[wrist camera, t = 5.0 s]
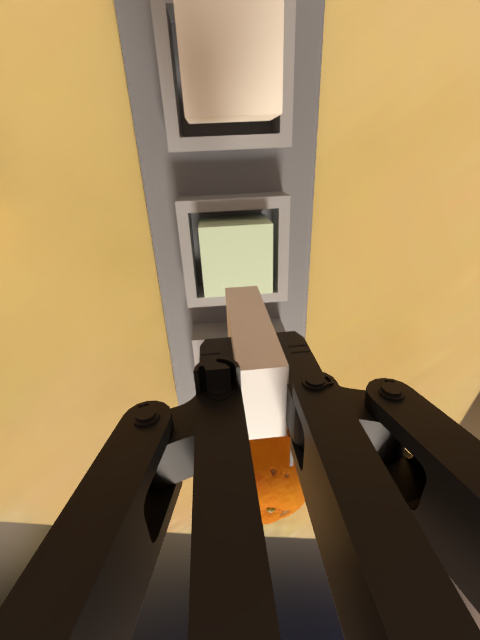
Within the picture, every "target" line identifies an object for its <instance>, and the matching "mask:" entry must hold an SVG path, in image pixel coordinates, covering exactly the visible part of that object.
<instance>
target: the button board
mask: <svg viewBox="0 0 480 640" xmlns="http://www.w3.org/2000/svg"><path fill="white" fill-rule="evenodd" d="M114 5H115V11H116V17H117V23H118V30H119V36H120V42H121V48H122V55H123V61H124V67H125V73H126V80H127V86H128V92H129V98H130V105H131V111H132V117H133V123H134V130H135V136H136V142H137V148H138V155H139V161H140V167H141V173H142V180H143V186H144V192H145V198H146V205H147V211H148V217H149V223H150V230H151V236H152V242H153V248H154V255H155V261H156V267H157V273H158V280H159V286H160V292H161V298H162V305H163V311H164V317H165V323H166V330H167V336H168V342H169V348H170V355H171V361H172V367H173V373H174V380H175V386H176V392H177V398H178V405H179V406H180V405H182V404H185V403H186V402H188V401H190V400H191V399H192V398H193V397H194V396H195V395H196V390H195V382H194V374H193V370H194V368H195V366H196V365H197V364H198V363H199V357H200V346H201V344H202V343H203V342H204V340H205V339H213V338H225V337H228V327H227V311H226V296H224V297H209V298H205V296H204V286H203V275H202V265H201V254H200V244H199V233H198V225H199V219H200V217H216V216H235V215H253V214H265V215H266V216H267V217H268V218H269V219H270V221H271V222H272V223H273V293H269V294H261V297H262V299H263V302H264V304H265V307H266V309H267V312H268V314H269V317H270V319H271V322H272V324H273V327H274V329H275V332H288V331H296V332H297V333H299V334H300V335H301V336H303V337H304V339H305V334H306V317H307V300H308V283H309V266H310V249H311V232H312V214H313V197H314V180H315V163H316V146H317V129H318V112H319V95H320V78H321V61H322V43H323V26H324V9H325V0H284V44H283V105H282V114H281V115H279V116H277V117H276V118H274V119H272V120H270V121H249V122H223V123H198V124H189V123H188V121H187V120H186V119H185V115H184V105H183V95H182V85H181V75H180V65H179V54H178V44H177V34H176V24H175V14H174V4H173V0H114Z"/></svg>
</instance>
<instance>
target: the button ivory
mask: <svg viewBox="0 0 480 640" xmlns="http://www.w3.org/2000/svg"><path fill="white" fill-rule="evenodd" d="M173 4H174V14H175V24H176V34H177V44H178V54H179V65H180V75H181V85H182V95H183V105H184V115H185V119H186V120H187V121H188V123H189V124H198V123H223V122H249V121H270V120H272V119H274V118H276V117H277V116H279V115H281V114H282V105H283V44H284V0H173Z"/></svg>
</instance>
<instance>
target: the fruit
mask: <svg viewBox="0 0 480 640" xmlns="http://www.w3.org/2000/svg"><path fill="white" fill-rule="evenodd" d="M249 442H250V448H251V454H252V461H253V467H254V473H255V480H256V486H257V492H258V499H259V505H260V511H261V518H262V524H269V523H273V522H275V521H277V520H279V519H281V518H285V517H287V516H289V515H290V514H292V513H294V512H295V511H296V510H298V509H299V508H300V507H301V506H302V505H303V504H304V502H305V498H304V495H303V491H302V488H301V484H300V481H299V477H298V474H297V470H296V467H295V463H294V460H293V466H290V437H289V436H281V437H271V438H262V439H252V440H249Z"/></svg>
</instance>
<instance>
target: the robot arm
mask: <svg viewBox="0 0 480 640" xmlns="http://www.w3.org/2000/svg"><path fill="white" fill-rule="evenodd" d="M225 296H226V311H227V327H228V337H225V338H213V339H205V340H204V342H203V343H202V344H201V346H200V357H199V363H198V364H197V365H196V366H195V368H194V370H193V374H194V382H195V390H196V395H195V396H194V397H193V398H192V399H191V400H190V401H188V402H186V403H185V404H182V405H180V406H177V407H174V408H171V409H170V408H169V406H168V405H166V404H165V403H164V402H159V401H146V402H142V403H139V404H137V405H135V406H133V407H132V408H130V409H129V410H128V411H127V412H126V413H125V414H124V415H123V417H122V418H121V420H120V421H119V423H118V424H117V426H116V428H115V429H114V431H113V432H112V434H111V435H110V437H109V438H108V440H107V442H106V443H105V445H104V446H103V448H102V449H101V451H100V453H99V454H98V456H97V457H96V459H95V460H94V462H93V463H92V465H91V467H90V468H89V470H88V471H87V473H86V474H85V476H84V477H83V479H82V481H81V482H80V484H79V485H78V487H77V488H76V490H75V491H74V493H73V495H72V496H71V498H70V499H69V501H68V502H67V504H66V505H65V507H64V509H63V510H62V512H61V513H60V515H59V516H58V518H57V519H56V521H55V523H54V524H53V526H52V527H51V529H50V530H49V532H48V534H47V535H46V537H45V538H44V540H43V541H42V543H41V544H40V546H39V548H38V550H37V551H36V552H35V554H34V555H33V557H32V558H31V560H30V562H29V563H28V565H27V566H26V568H25V569H24V571H23V572H22V574H21V576H20V577H19V579H18V580H17V582H16V583H15V585H14V587H13V588H12V590H11V591H10V593H9V595H8V596H7V597H6V599H5V600H4V602H3V604H2V605H1V607H0V640H131V636H132V634H133V630H134V628H135V625H136V622H137V618H138V616H139V612H140V610H141V606H142V603H143V600H144V598H145V595H146V591H147V589H148V586H149V583H150V580H151V577H152V574H153V571H154V567H155V564H156V561H157V558H158V556H159V553H160V550H161V546H162V543H163V541H164V537H165V535H166V532H167V529H168V525H169V522H170V519H171V516H172V513H173V510H174V507H175V504H176V501H177V498H178V495H179V492H180V489H181V486H182V481H183V480H185V479H188V478H190V477H192V476H193V502H192V532H191V562H190V563H191V564H190V593H189V594H190V595H189V623H188V640H281V638H280V632H279V625H278V619H277V613H276V606H275V600H274V594H273V587H272V581H271V575H270V568H269V562H268V556H267V549H266V543H265V537H264V530H263V524H262V518H261V511H260V505H259V499H258V492H257V486H256V480H255V473H254V467H253V461H252V454H251V448H250V442H249V440H252V439H262V438H271V437H281V436H287V425H288V429H289V432H290V435H291V436H290V466H293V460H294V463H295V467H296V470H297V474H298V477H299V481H300V484H301V488H302V491H303V495H304V498H305V502H306V505H307V509H308V512H309V516H310V519H311V523H312V526H313V530H314V533H315V537H316V540H317V543H318V547H319V551H320V554H321V557H322V561H323V565H324V568H325V572H326V575H327V579H328V582H329V586H330V589H331V593H332V596H333V600H334V603H335V607H336V610H337V614H338V617H339V621H340V624H341V628H342V631H343V635H344V638H345V640H480V630H479V628H478V626H477V624H476V623H475V621H474V619H473V618H472V616H471V614H470V612H469V610H468V609H467V607H466V606H465V604H464V602H463V600H462V598H461V597H460V595H459V593H458V591H457V590H456V588H455V586H454V584H453V583H452V581H451V579H452V580H453V581H454V582H455V584H456V585H457V586H458V588H459V589H460V590H461V591H462V592H463V594H464V595H465V596H466V597H467V599H468V600H469V601H470V602H471V604H472V605H473V606H474V607H475V609H476V610H477V611H478V612H479V613H480V440H478V439H477V438H476V437H475V436H473V435H472V434H471V433H469V432H468V431H467V430H465V429H464V428H463V427H461V426H460V425H459V424H458V423H456V422H455V421H454V420H453V419H451V418H450V417H449V416H447V415H446V414H445V413H443V412H442V411H441V410H440V409H438V408H437V407H436V406H434V405H433V404H432V403H430V402H429V401H428V400H427V399H425V398H424V397H423V396H421V395H420V394H419V393H417V392H416V391H415V390H414V389H412V388H411V387H410V386H408V385H406V384H404V383H403V382H400V381H397V380H394V379H387V378H380V379H375V380H373V381H371V382H369V384H368V385H367V387H366V391H365V390H357V389H350V388H345V387H341V386H339V385H338V383H337V381H336V380H335V379H334V378H333V377H332V376H330V375H328V374H327V373H324V372H322V370H321V368H320V367H319V365H318V363H317V361H316V359H315V357H314V355H313V354H312V352H311V350H310V348H309V346H308V344H307V343H306V341H305V339H304V337H303V336H301V335H300V334H299V333H297V332H296V331H288V332H275V329H274V327H273V324H272V322H271V319H270V317H269V314H268V312H267V309H266V307H265V304H264V302H263V299H262V297H261V294H260V292H259V289H258V287H257V286H246V287H232V288H225ZM405 448H406V449H407V450H408V451H409V452H410V453H411V454H412V455H411V454H410V453H408V452H407V451H406V450H405ZM448 575H449V576H450V577H449V576H448ZM450 578H451V579H450Z"/></svg>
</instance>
